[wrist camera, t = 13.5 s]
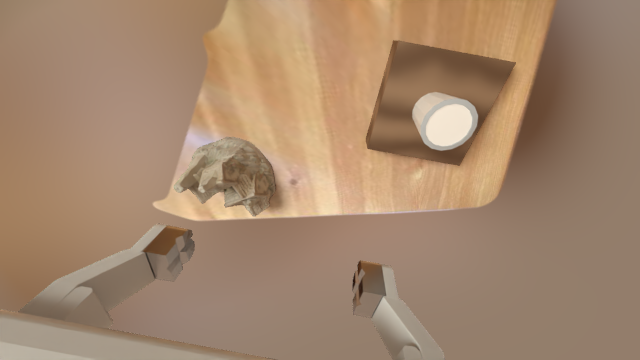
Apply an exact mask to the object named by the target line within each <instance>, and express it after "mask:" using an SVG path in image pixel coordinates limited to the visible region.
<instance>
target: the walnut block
mask: <svg viewBox="0 0 640 360" xmlns="http://www.w3.org/2000/svg"><path fill="white" fill-rule="evenodd" d="M515 64H516V62H510V61H505V60H499V59H494V58H489V57H483V56H478V55H473V54H467V53H462V52H456V51H451V50H446V49H440V48H435V47H429V46H424V45H419V44H413V43H408V42H403V41H394V40H393V44H392V47H391V51H390V54H389V58H388V62H387V65H386V69H385V72H384V76H383V79H382V83H381V86H380V90H379V94H378V97H377V101H376V104H375V108H374V111H373V115H372V118H371V122H370V126H369V129H368V133H367V136H366V143H367V148H368V149H372V150H377V151H383V152H388V153H393V154H399V155H404V156H410V157H415V158H420V159H426V160H431V161H437V162H442V163H448V164H453V165H458V166H459V165H460V164H461V162H462V160H463V158H464V156H465V154H466V153H467V151H468V149H469V147H470V145H471V144H472V142H473V140H474V138H475V136H476V135H477V133H478V131H479V129H480V127H481V126H482V124H483V122H484V120H485V118H486V116H487V115H488V113H489V111H490V109H491V107H492V106H493V104H494V102H495V100H496V98H497V97H498V95H499V93H500V91H501V89H502V88H503V86H504V84H505V82H506V80H507V78H508V77H509V75H510V73H511V71H512V69H513V68H514V66H515ZM433 92H438V93H443V94H447V95H450V96H454V97H457V98H461V99H464V100H467V101H468V102H470V103H471V104H472V105H473V106H475V109H476V111H477V114H478V121H477V127H476V129H475V130H474V132H473V134H472V136H471V137H470V138H469V139H468V140H466V141H465V142H464V143H463V144H462V145H460V146H458V147H455V148H453V149H449V150H443V151H441V150H436V149H432V148H430V147H429V146H427V145H426V144H425V143H424V141H423V139H422V137H421V135H420V133H419V131H418V129H417V127H416V125H415V122H414V120H413V118H412V111H413V108H414V106H415V104H416V103H417V101H418V100H419V99H420V98H421V97H423V96H425V95H426V94H428V93H433Z"/></svg>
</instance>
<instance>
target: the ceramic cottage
mask: <svg viewBox="0 0 640 360" xmlns="http://www.w3.org/2000/svg"><path fill="white" fill-rule="evenodd" d="M192 158H193V159H192V161H191V162H190V164H189V168H188V169H187V170H186V172H185V173H183V174H182V175H181V177H180V179H179V180H178V181H177V183H176V184H175V185H174V189H175V190H176V191H177V192H179V193H181V192H183V191H185V190H187V189H190V190H191V192H192V193H193V194H194V195H196V197H197V198H198V199H199V201H200V202H201V203H202V204H203V203H205V202H206V201H207V200H208V199H210V198H211V197H212V196H213V195H215V194H216V193H218V192H225V204H224V206H225V207H230V206H231V207H232V206H234V205H235V206H237V205H244V206H245V208H246V209H247V210H248V211H249V212H250V213H251V215H252V216H256V215H258V214H259V213H260V212H262V211H264V210H265V209H266V208H268V207H269V206H270V203H269V200H270V197H271V196H272V195H273V194H274V193H275V190H276V188H275V186H276V185H275V180H274V176H273V175H274V173H273V170H272V166H271V165H270V163H269V162H268V160H267V159H266V158H265V157H264V156H263V154H262V153H261V152H260V151H259V150H258V149H257V148H256V147H255V146H254V145H253V144H252V143H250V142H249V141H246V140H243V139H240V138H235V137H227V138H224V139H221V140H219V141H216V142H213V143H210V144H208V145H204V146H202V147H199V148H198V149H197V150H196V152H195V153H194V155H193V157H192Z"/></svg>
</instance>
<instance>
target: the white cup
mask: <svg viewBox="0 0 640 360" xmlns="http://www.w3.org/2000/svg"><path fill="white" fill-rule="evenodd" d="M412 118H413V120H414V122H415V125H416V127H417V129H418V131H419V133H420V135H421V137H422V139H423V141H424V143H425V144H426V145H427V146H429V147H430V148H432V149H436V150H441V151H443V150H449V149H453V148H455V147H458V146H460V145H462V144H463V143H464V142H465V141H466V140H468V139H469V138H470V137H471V136H472V134H473V132H474V130H475V129H476V127H477V121H478V114H477V111H476V109H475V106H473V105H472V104H471V103H470V102H468V101H467V100H464V99H461V98H457V97H454V96H450V95H447V94H443V93H438V92H433V93H428V94H426V95H425V96H423V97H421V98H420V99H419V100H418V101H417V103H416V104H415V106H414V108H413V111H412Z"/></svg>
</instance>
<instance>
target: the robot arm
mask: <svg viewBox="0 0 640 360" xmlns="http://www.w3.org/2000/svg"><path fill="white" fill-rule="evenodd" d="M192 235H193V234H192V230H189V229H184V228H179V227H175V226H170V225H165V224H160V223H158V224H156V225H154V226H153V227H152V228H151V229H150V230H149V231H148V232H147V233H146V234H145V235H144V236H143V237H142V238H141V239H140V240H139V241H138V242H137V243H136V244H135V245H134V246H133V247H132V248H131V249H130V250H129V249H126V250H123V251H121V252H119V253H116V254H114V255H112V256H109V257H107V258H105V259H103V260H100V261H98V262H96V263H94V264H91V265H89V266H87V267H84V268H82V269H80V270H78V271H75V272H73V273H71V274H69V275H66V276H64V277H62V278H59V279H57V280H55V281H54V282H53V283H52V284H50V285H49V286H48V287H47V288H46V289H44V290H43V291H42V292H41V293H40V294H38V295H37V296H36V297H35V298H34V299H32V300H31V301H30V302H29V303H28V304H26V305H25V306H24V307H23V308H22V309H20V311H18V312H13V311H8V310H2V309H0V360H276V359H271V358H266V357H260V356H254V355H249V354H244V353H238V352H232V351H227V350H222V349H216V348H211V347H205V346H200V345H194V344H188V343H183V342H178V341H172V340H167V339H161V338H156V337H150V336H145V335H139V334H134V333H129V332H123V331H118V330H112V329H109V328H110V326H111V325H112V324H113V319H112V318H111V316H110V315H109V313H108V311H110V310H111V309H112V308H114V307H116V306H117V305H119V304H120V303H121V302H123V301H124V300H126V299H127V298H129V297H130V296H132V295H133V294H135V293H136V292H138V291H139V290H141V289H142V288H144V287H145V286H147V285H148V284H150V283H151V282H153V281H154V280H155V279H159V280H166V281H175V279H176V278H177V277H178V275H179V274H180V272H181V271H182V270H183V266H182V264H184V263H186V262H188V261H189V260H190V258H191V257H192V255H193V252H194V247H195V244H194V241H193V240H192V239H191V237H192ZM357 267H358V270H357V271H355V273H354V277H353V289H352V290H353V292H354V294H355V296H354V298H353V315H358V316H363V317H368V318H372V319H371V320H372V322H373V324H374V326H375V327H376V329H377V331H378V333H379V335H380V337H381V339H382V340H383V342H384V344H385V346H386V348H387V350H388V351H389V354H390V355H391V357H392V359H393V360H445V357H444V354H443V351H442V350H441V349H440V347H439V346H438V345H437V343H436V342H435V341H434V340H433V338H432V337H431V336H430V334H429V333H428V332H427V331H426V329H425V328H424V327H423V326H422V324H421V323H420V322H419V320H418V319H417V318H416V317H415V315H414V314H413V313H412V312H411V310H410V309H409V308H408V306H407V305H406V304H405V303H404V301H402V300H401V299H399V297H398V292H397V287H396V283H395V278H394V273H393V268H392V267H391V266H388V265H383V264H378V263H372V262H366V261H361V260H360V261H359V263H358V265H357Z"/></svg>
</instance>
